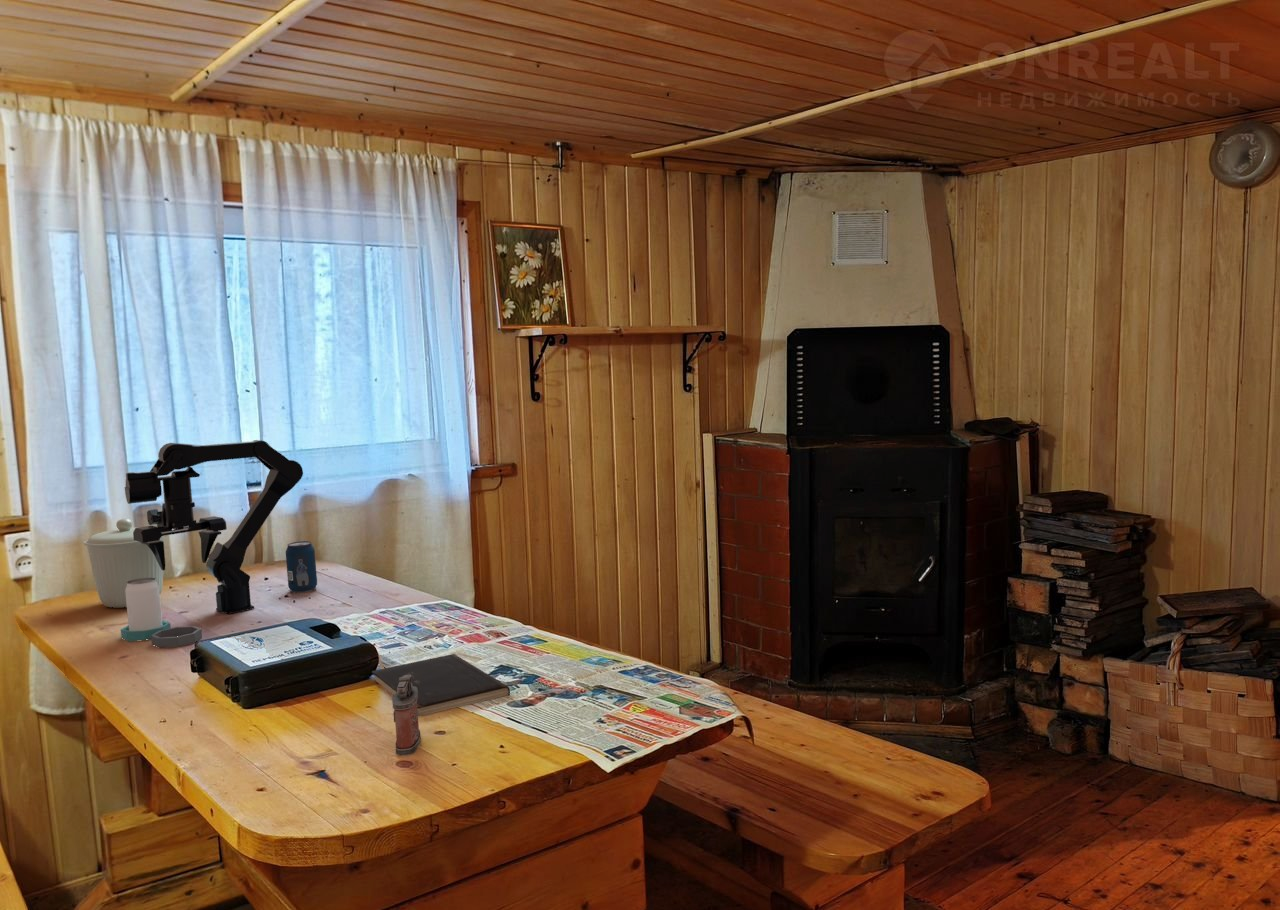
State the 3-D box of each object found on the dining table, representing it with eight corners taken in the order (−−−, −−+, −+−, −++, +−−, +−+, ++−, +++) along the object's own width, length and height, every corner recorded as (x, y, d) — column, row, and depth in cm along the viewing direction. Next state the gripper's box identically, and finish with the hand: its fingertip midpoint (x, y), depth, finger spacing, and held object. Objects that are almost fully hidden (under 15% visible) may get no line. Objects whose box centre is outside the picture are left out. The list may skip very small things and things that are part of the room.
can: (139, 641, 209) (133, 585, 207) (124, 636, 213) (118, 582, 211) (169, 633, 214) (163, 578, 213) (153, 629, 218) (148, 575, 216)
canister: (178, 603, 242) (170, 518, 239) (94, 616, 232) (85, 527, 229) (165, 590, 256) (158, 510, 254) (86, 602, 246) (78, 519, 244)
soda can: (307, 585, 255) (303, 539, 254) (323, 588, 251) (319, 542, 250) (283, 591, 250) (279, 544, 249) (299, 594, 246) (295, 547, 244)
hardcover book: (418, 720, 157) (417, 706, 156) (372, 683, 176) (371, 670, 176) (510, 698, 165) (509, 684, 165) (457, 665, 184) (456, 653, 184)
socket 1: (159, 627, 219) (158, 618, 219) (175, 633, 213) (174, 624, 213) (116, 636, 213) (116, 627, 213) (132, 643, 207) (132, 634, 207)
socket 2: (189, 633, 213) (188, 624, 213) (207, 639, 207) (206, 630, 207) (147, 642, 207) (146, 633, 207) (164, 650, 201) (163, 640, 201)
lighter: (401, 735, 149) (396, 670, 148) (423, 733, 149) (419, 669, 148) (392, 756, 141) (387, 688, 140) (416, 754, 141) (411, 686, 140)
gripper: (203, 491, 236) (209, 555, 238) (120, 501, 222) (127, 570, 224) (224, 494, 229) (230, 560, 230) (140, 505, 215) (146, 575, 216)
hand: (184, 566), depth 225 cm, fingers open, 9 cm apart
